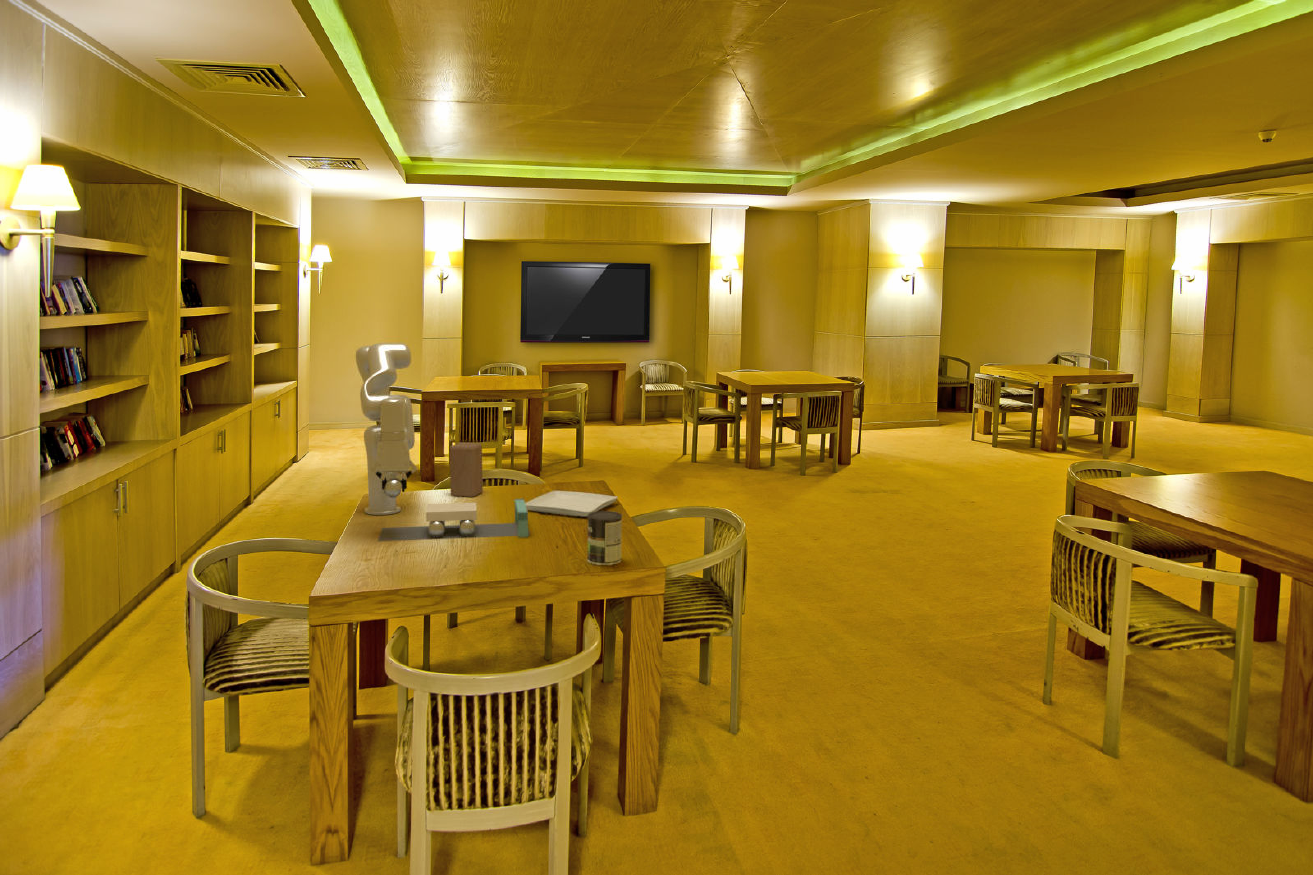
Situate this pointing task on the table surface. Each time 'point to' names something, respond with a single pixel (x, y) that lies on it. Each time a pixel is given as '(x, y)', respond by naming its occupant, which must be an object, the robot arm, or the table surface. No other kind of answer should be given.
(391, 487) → the loose roller
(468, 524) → the roller
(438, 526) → the roller
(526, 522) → the runway
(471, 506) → the slab
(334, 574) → the table surface
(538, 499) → the square plate
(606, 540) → the coffee can
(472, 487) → the wooden block
